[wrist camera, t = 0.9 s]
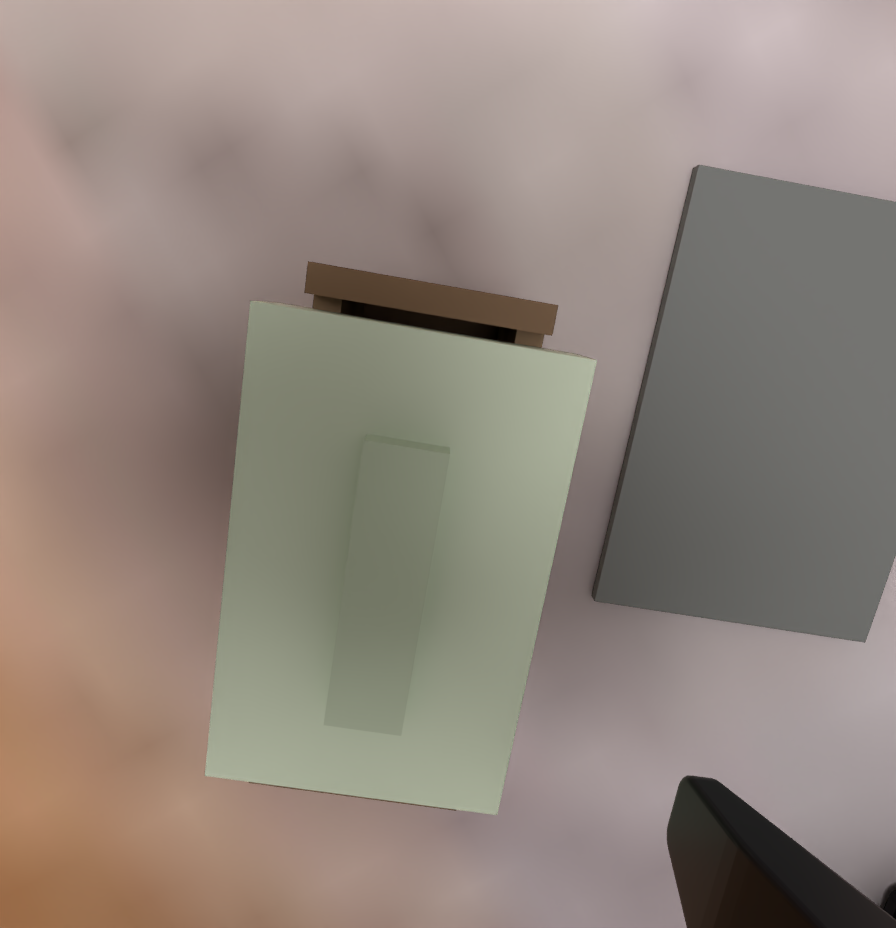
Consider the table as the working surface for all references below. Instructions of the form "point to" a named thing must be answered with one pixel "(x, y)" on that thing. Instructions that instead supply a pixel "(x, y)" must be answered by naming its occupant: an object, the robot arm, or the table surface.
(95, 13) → the table surface
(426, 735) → the lid
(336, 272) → the walnut box
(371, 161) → the table surface
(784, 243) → the slate mat
